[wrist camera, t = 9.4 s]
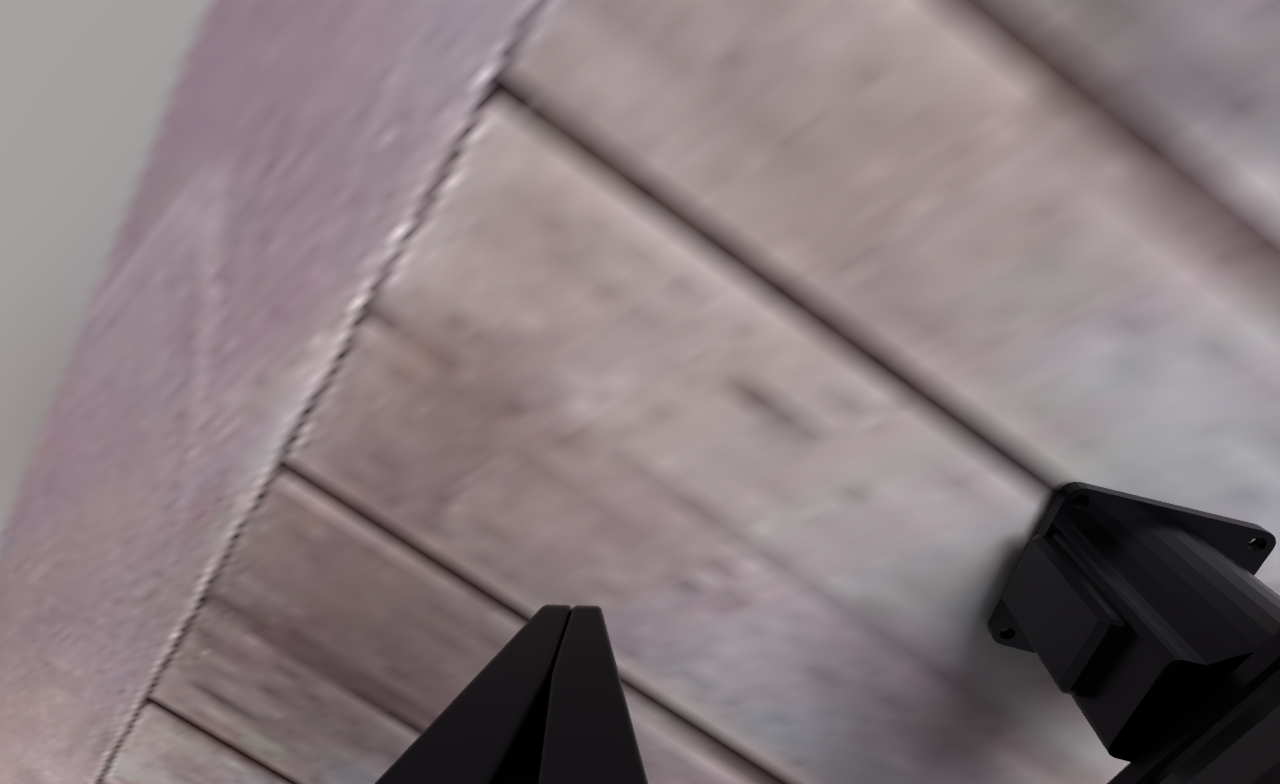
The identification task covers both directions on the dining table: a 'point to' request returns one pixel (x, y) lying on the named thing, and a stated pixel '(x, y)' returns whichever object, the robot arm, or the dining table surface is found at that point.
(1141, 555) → the robot arm
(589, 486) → the dining table surface
